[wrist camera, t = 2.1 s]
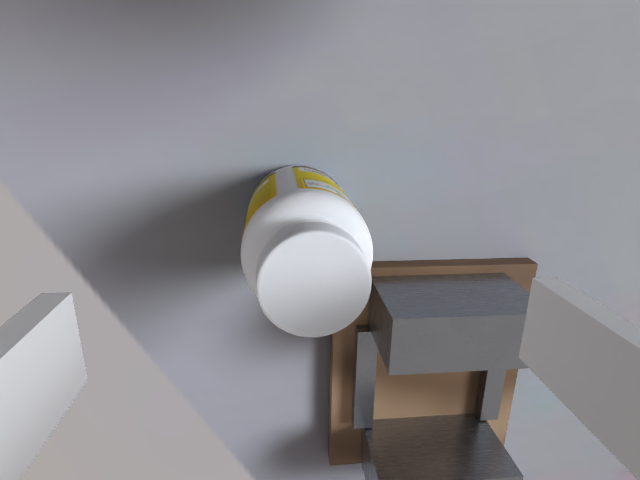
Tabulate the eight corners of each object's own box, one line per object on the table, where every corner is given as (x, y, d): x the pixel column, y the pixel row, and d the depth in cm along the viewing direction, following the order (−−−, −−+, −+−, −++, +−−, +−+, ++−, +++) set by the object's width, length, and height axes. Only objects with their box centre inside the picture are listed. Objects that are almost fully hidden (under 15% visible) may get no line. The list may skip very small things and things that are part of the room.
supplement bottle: (263, 268, 24) (256, 372, 15) (236, 177, 23) (210, 231, 13) (354, 245, 24) (403, 334, 15) (335, 153, 23) (376, 189, 13)
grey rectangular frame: (357, 276, 24) (377, 320, 19) (515, 272, 25) (571, 312, 20) (349, 457, 28) (364, 530, 23) (485, 448, 29) (526, 516, 24)
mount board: (332, 262, 25) (335, 268, 24) (528, 257, 26) (537, 263, 25) (328, 453, 29) (329, 465, 28) (495, 441, 30) (502, 452, 29)
